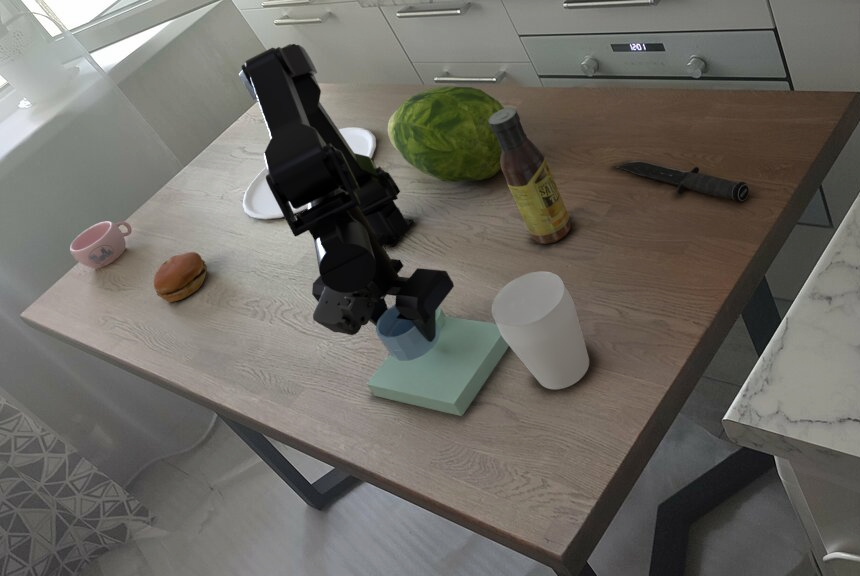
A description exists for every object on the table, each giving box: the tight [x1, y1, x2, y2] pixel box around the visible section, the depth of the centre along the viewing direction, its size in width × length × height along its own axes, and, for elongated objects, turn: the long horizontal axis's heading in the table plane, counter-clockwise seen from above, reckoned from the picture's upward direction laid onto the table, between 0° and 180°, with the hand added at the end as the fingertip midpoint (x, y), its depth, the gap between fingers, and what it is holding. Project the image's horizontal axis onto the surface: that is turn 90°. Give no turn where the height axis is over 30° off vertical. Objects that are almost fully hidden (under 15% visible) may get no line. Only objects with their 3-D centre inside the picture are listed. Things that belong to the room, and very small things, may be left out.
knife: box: [616, 160, 750, 203], centre depth 121 cm, size 24×5×3 cm, turn 36°
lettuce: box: [387, 86, 505, 183], centre depth 142 cm, size 15×27×16 cm, turn 52°
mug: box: [69, 220, 133, 270], centre depth 171 cm, size 12×10×6 cm
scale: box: [366, 305, 510, 417], centre depth 109 cm, size 15×14×4 cm
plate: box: [242, 126, 377, 220], centre depth 167 cm, size 29×29×1 cm
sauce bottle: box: [489, 107, 572, 245], centre depth 117 cm, size 7×6×20 cm
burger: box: [152, 251, 208, 303], centre depth 150 cm, size 10×9×5 cm
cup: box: [490, 270, 590, 390], centre depth 98 cm, size 9×9×12 cm
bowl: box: [374, 303, 440, 361], centre depth 105 cm, size 7×7×4 cm
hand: (411, 335), depth 105 cm, fingers closed on bowl, 7 cm apart
